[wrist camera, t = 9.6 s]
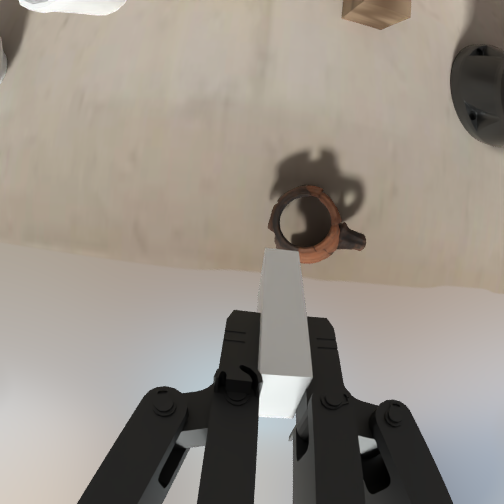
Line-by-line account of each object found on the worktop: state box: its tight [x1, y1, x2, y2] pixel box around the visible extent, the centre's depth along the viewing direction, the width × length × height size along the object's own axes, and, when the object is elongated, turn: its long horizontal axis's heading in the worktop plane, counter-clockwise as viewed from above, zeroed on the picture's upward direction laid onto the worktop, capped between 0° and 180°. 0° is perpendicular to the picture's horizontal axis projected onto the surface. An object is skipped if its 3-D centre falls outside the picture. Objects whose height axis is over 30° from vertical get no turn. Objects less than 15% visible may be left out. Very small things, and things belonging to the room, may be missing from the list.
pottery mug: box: [268, 185, 366, 264], centre depth 36 cm, size 12×10×8 cm
